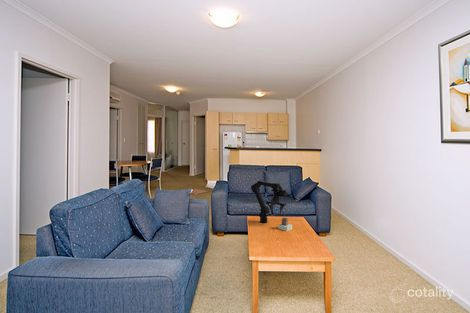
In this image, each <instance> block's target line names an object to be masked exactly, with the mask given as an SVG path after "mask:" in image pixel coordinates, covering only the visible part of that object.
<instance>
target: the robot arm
mask: <svg viewBox="0 0 470 313" xmlns="http://www.w3.org/2000/svg"><path fill="white" fill-rule="evenodd" d="M261 186H263V187H264V186H265V187H267V188H268V187H269V188H271V190H270V191H271V192H272V199H271V200H267V201H266V202H264V200H263V197H262V195H261V192H260V188H261ZM250 190H251V192H252V193H254V195H255V197H256V199H257V202H258V204H259V207H260V210H259V211H260V213H258V217H259V223H260V224H267V223H268V216H269V214H270V212H271V213H272V212H273V207H274V206H279V213H280V214H281V213H282V212H283V209H284V207H285V208H286V206H287V203H286V202H283V201H282V202H281V201H280V199H281V198H287V196H288V191H287V189H283V188H282V186H281V184H280V182H269V181H264V180H258V181H257V182H255V183H253V184H252V185H251V186H250ZM266 205H267V206H266Z"/></svg>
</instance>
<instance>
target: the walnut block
mask: <svg viewBox="0 0 470 313" xmlns="http://www.w3.org/2000/svg"><path fill="white" fill-rule="evenodd" d="M281 224H282V225H285V226H287V225H288V224H289V217H285V216H284V217H282V218H281Z"/></svg>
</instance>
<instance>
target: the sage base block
mask: <svg viewBox="0 0 470 313" xmlns="http://www.w3.org/2000/svg"><path fill="white" fill-rule="evenodd" d="M277 229H278V230H281V231H286V232H288V231H291V230H293V224H290V223H288V225H287V226H285V225H282V223H280V224H278V227H277Z"/></svg>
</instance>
